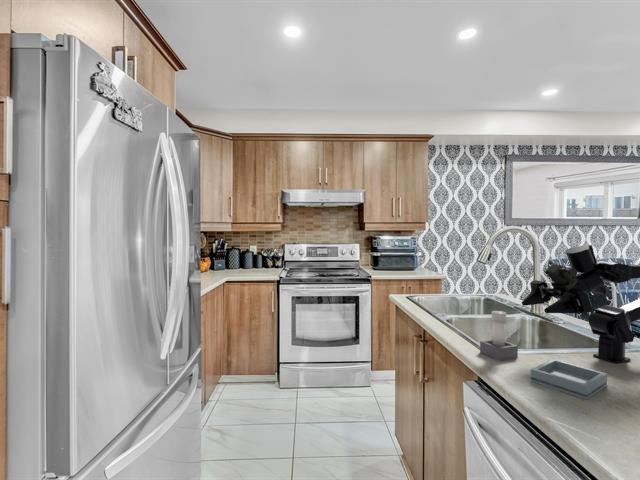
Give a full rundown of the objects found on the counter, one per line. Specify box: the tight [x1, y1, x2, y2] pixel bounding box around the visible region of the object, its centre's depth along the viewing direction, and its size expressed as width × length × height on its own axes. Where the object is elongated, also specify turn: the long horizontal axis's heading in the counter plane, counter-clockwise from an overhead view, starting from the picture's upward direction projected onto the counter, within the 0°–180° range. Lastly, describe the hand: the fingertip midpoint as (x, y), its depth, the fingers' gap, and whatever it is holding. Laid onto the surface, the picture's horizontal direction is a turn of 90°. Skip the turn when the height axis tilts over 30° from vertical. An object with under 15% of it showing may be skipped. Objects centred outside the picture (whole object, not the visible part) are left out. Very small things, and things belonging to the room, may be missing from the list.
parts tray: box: [530, 358, 608, 400], centre depth 89 cm, size 12×12×3 cm
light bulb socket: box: [479, 339, 519, 361], centre depth 109 cm, size 7×7×4 cm
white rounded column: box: [491, 310, 507, 347], centre depth 108 cm, size 4×4×13 cm
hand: (533, 307), depth 102 cm, fingers open, 9 cm apart
